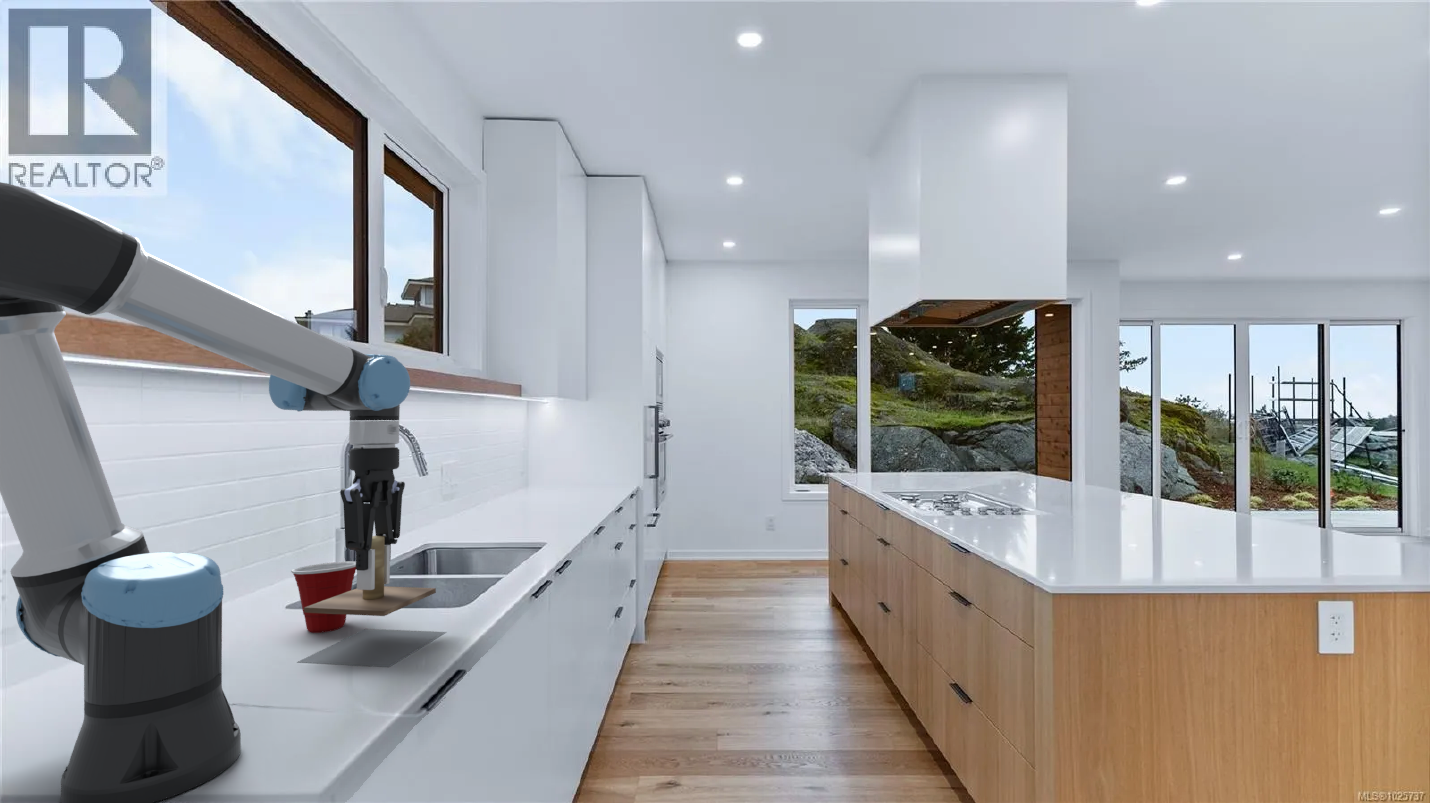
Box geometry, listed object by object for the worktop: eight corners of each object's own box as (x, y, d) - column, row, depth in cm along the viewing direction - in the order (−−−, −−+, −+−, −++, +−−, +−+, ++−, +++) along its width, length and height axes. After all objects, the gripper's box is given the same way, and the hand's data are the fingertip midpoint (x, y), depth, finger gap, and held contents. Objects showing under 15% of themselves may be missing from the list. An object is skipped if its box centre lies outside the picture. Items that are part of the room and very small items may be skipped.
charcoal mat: (388, 669, 101) (388, 666, 101) (296, 664, 104) (296, 662, 104) (446, 634, 117) (446, 631, 117) (365, 630, 120) (365, 628, 120)
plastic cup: (357, 616, 128) (357, 554, 128) (362, 631, 119) (361, 565, 119) (291, 626, 122) (291, 562, 123) (290, 643, 113) (290, 574, 114)
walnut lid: (384, 616, 102) (384, 546, 102) (303, 612, 104) (304, 544, 105) (435, 592, 116) (436, 531, 116) (364, 589, 118) (364, 529, 118)
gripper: (361, 448, 102) (360, 600, 102) (423, 444, 118) (422, 575, 118) (318, 448, 103) (317, 598, 103) (385, 444, 119) (384, 574, 119)
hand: (373, 585), depth 110 cm, fingers closed on walnut lid, 3 cm apart
